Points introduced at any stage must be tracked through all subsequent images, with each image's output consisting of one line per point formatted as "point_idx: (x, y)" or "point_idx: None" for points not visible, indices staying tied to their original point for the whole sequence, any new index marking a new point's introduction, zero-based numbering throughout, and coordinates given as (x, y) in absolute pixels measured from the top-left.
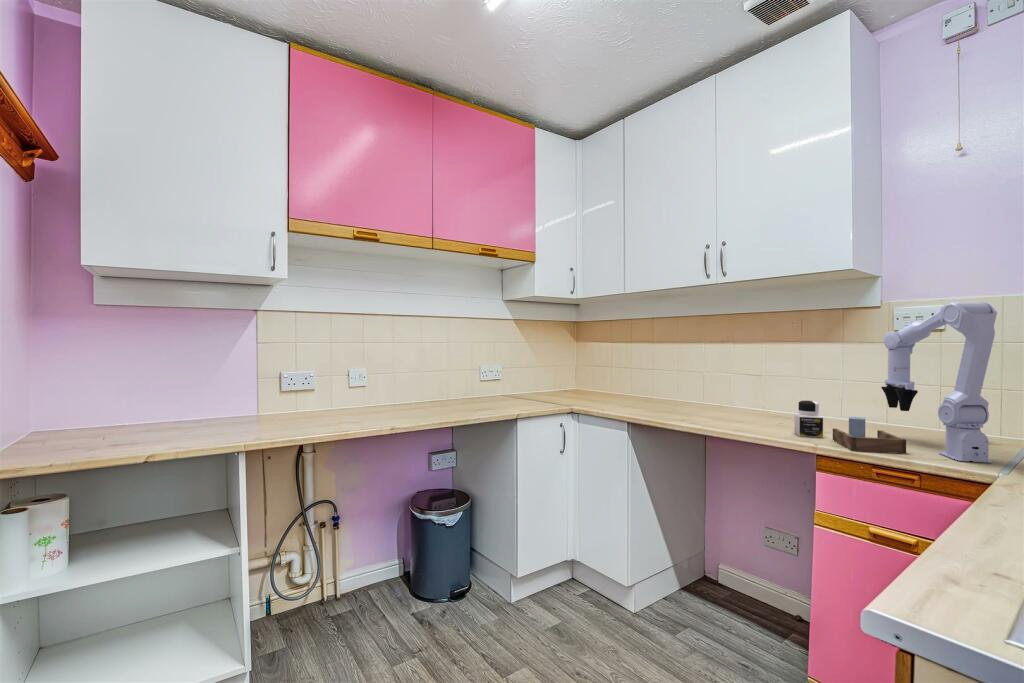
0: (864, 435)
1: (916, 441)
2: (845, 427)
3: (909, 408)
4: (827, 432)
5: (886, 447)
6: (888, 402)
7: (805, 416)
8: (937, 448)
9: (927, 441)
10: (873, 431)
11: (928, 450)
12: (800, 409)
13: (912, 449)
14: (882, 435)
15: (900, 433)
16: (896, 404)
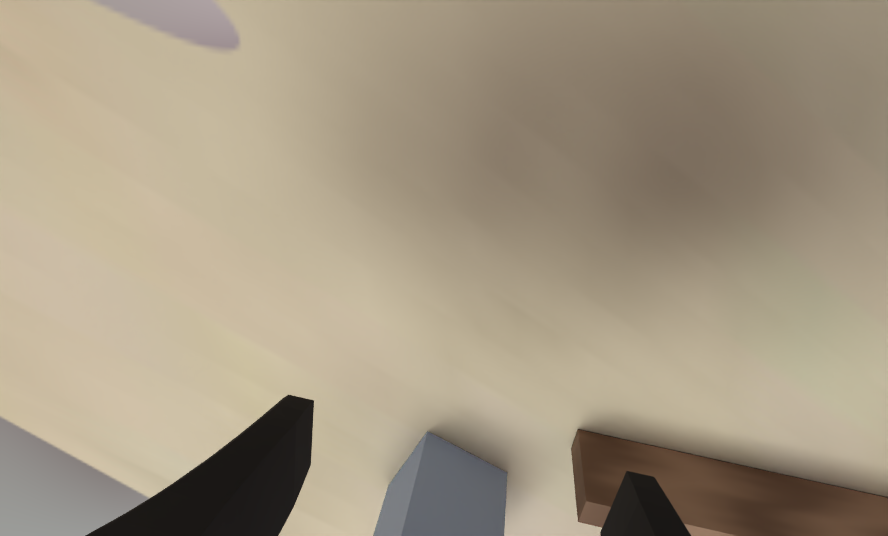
0: (503, 503)
1: (511, 144)
2: (23, 314)
3: (672, 509)
4: None
5: None
6: (271, 534)
7: None
8: (807, 175)
9: (505, 36)
10: (123, 213)
11: (862, 302)
12: None
13: (806, 384)
14: None
15: (141, 29)
16: (295, 442)
